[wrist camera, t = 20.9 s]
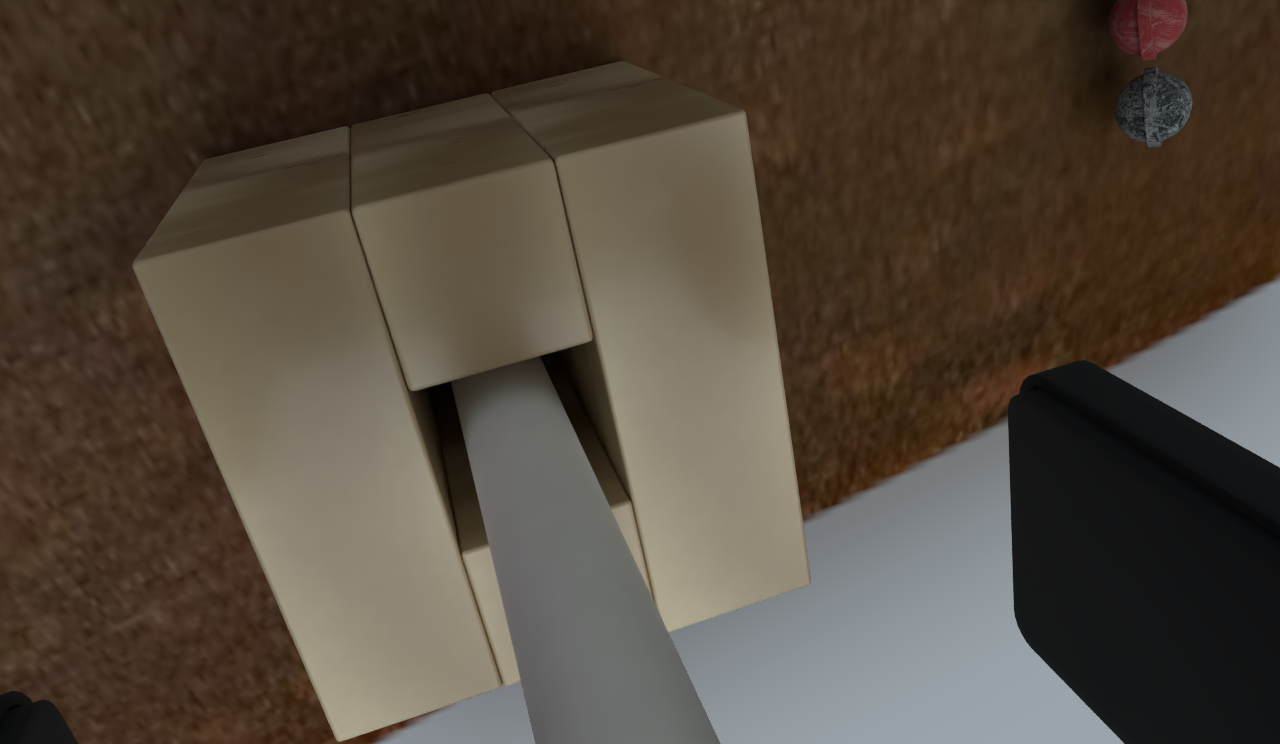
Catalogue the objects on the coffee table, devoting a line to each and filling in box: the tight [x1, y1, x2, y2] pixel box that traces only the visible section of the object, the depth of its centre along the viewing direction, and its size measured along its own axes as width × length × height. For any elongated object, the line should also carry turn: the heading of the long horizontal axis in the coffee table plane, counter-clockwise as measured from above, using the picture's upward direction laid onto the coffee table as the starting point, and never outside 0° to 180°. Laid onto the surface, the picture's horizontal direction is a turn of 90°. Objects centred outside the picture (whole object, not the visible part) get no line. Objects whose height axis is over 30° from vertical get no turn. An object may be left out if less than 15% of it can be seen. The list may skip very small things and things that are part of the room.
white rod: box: [451, 356, 720, 744], centre depth 13 cm, size 1×1×13 cm
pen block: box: [132, 61, 811, 741], centre depth 16 cm, size 7×7×6 cm
